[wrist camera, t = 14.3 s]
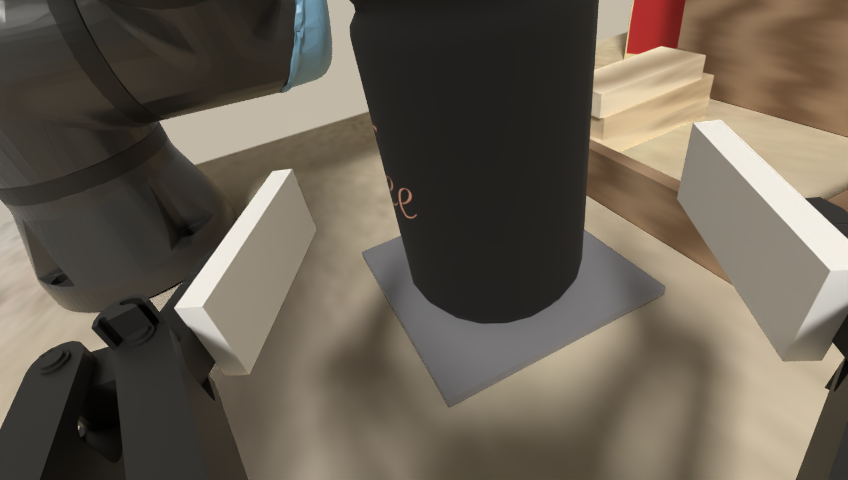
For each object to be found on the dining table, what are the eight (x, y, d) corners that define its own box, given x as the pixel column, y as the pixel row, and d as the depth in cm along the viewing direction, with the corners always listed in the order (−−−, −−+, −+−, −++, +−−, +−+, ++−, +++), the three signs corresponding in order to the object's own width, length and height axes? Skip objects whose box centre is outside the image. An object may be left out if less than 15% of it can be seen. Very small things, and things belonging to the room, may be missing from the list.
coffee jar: (436, 217, 34) (384, -58, 23) (582, 222, 31) (601, -99, 20) (390, 323, 26) (279, -18, 15) (579, 344, 23) (608, -74, 12)
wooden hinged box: (510, 148, 42) (500, -48, 32) (677, 84, 47) (711, -103, 37) (759, 300, 24) (905, -45, 14) (990, 169, 29) (1216, -155, 19)
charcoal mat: (363, 258, 33) (361, 252, 32) (522, 191, 36) (522, 185, 36) (448, 407, 22) (447, 400, 22) (663, 294, 25) (665, 286, 25)
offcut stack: (555, 145, 41) (556, 82, 38) (660, 103, 45) (670, 41, 41) (592, 165, 38) (597, 97, 34) (705, 118, 41) (720, 51, 37)
